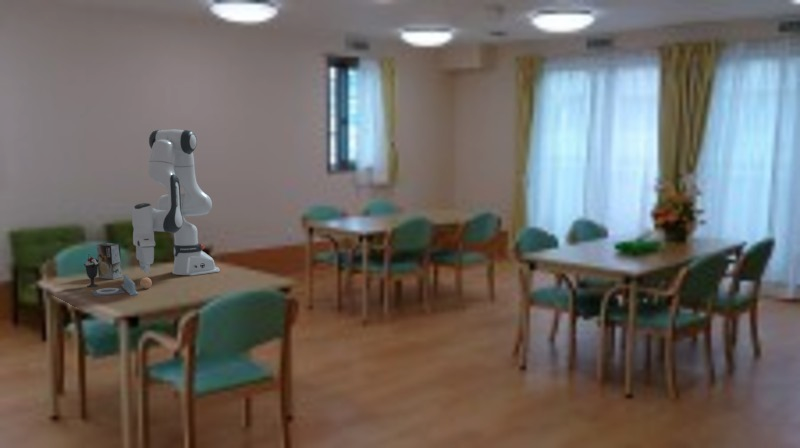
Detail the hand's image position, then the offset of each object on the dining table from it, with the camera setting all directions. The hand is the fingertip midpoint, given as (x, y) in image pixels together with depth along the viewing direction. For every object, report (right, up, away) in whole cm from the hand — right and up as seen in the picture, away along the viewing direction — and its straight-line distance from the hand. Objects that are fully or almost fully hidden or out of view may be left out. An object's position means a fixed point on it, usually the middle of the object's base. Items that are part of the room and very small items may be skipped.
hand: (144, 271), depth 336 cm
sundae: (-26, -7, +7) cm, 28 cm away
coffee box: (-25, -5, +26) cm, 37 cm away
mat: (-14, -9, -6) cm, 18 cm away
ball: (0, -5, +1) cm, 5 cm away
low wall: (-6, -8, -2) cm, 10 cm away
